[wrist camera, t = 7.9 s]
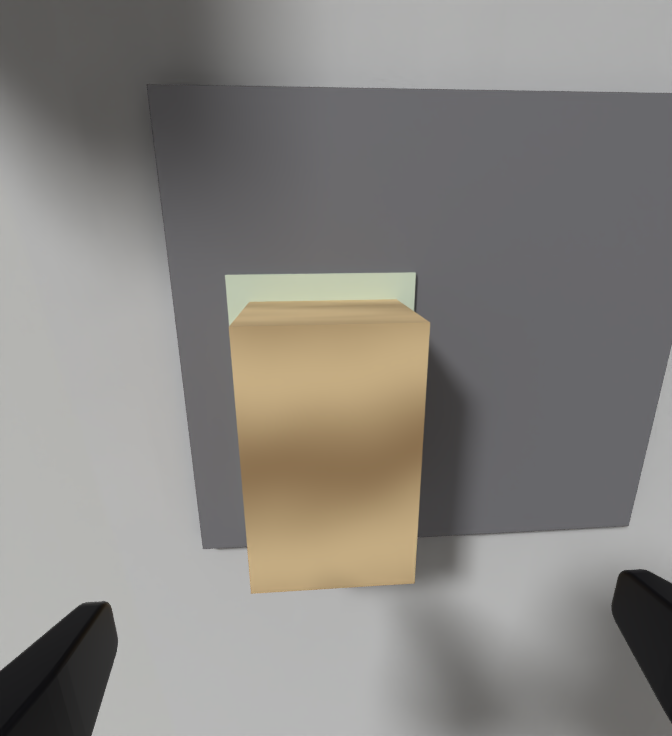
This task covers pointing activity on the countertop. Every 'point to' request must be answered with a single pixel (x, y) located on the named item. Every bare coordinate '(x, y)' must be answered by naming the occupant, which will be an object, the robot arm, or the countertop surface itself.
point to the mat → (437, 276)
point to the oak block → (330, 440)
